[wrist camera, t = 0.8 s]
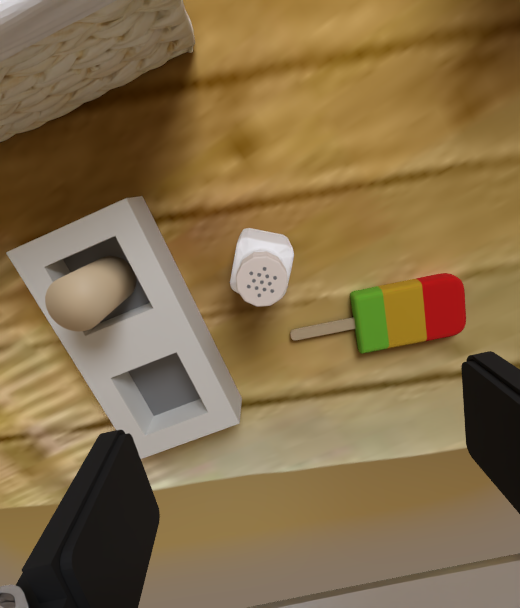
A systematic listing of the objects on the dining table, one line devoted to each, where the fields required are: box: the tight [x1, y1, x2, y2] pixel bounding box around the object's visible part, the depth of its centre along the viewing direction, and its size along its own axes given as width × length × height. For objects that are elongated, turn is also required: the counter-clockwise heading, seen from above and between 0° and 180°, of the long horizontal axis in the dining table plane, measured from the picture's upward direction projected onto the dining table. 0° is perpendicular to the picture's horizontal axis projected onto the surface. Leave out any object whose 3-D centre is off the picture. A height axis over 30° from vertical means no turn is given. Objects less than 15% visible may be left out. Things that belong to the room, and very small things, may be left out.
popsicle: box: [290, 273, 466, 353], centre depth 34 cm, size 6×15×2 cm, turn 102°
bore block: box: [6, 196, 242, 459], centre depth 30 cm, size 10×20×8 cm, turn 23°
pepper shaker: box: [230, 228, 294, 307], centre depth 28 cm, size 4×4×10 cm
